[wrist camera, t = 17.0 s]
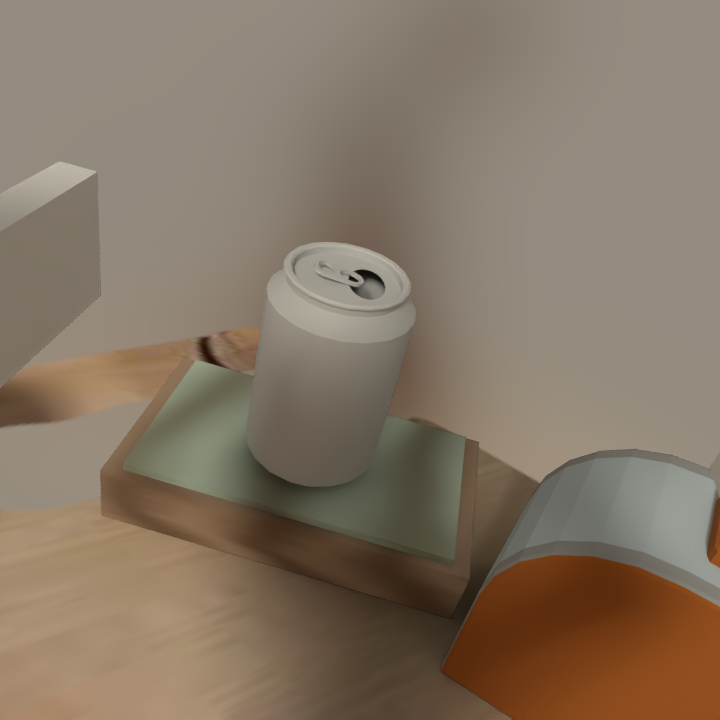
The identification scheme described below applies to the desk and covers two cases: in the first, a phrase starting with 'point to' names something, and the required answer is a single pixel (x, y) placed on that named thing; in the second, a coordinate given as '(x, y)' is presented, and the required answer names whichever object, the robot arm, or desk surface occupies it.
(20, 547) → the desk surface
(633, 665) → the alarm clock
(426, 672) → the desk surface
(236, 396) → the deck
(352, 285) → the can
